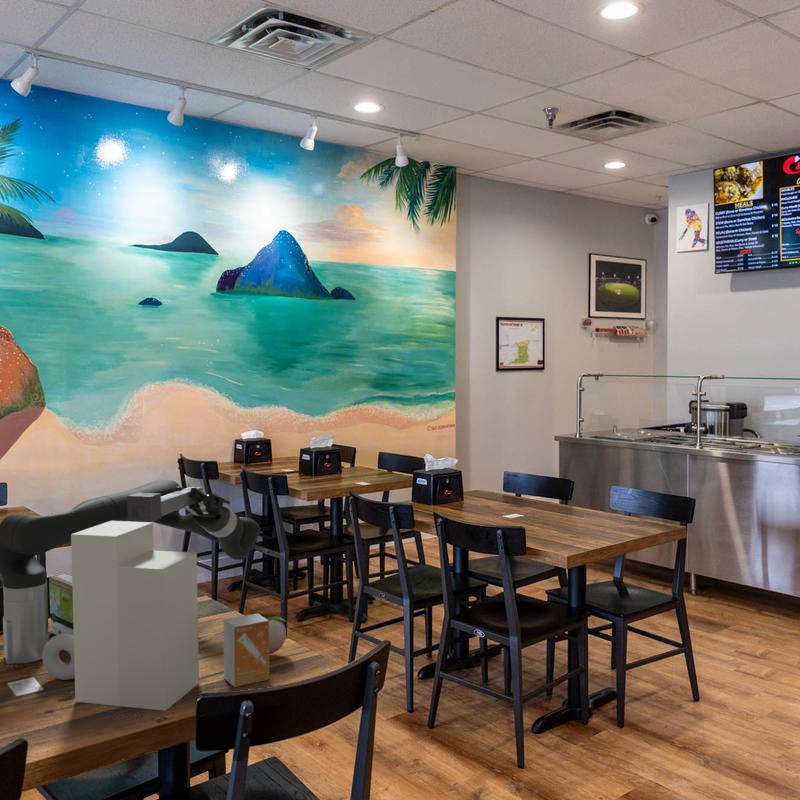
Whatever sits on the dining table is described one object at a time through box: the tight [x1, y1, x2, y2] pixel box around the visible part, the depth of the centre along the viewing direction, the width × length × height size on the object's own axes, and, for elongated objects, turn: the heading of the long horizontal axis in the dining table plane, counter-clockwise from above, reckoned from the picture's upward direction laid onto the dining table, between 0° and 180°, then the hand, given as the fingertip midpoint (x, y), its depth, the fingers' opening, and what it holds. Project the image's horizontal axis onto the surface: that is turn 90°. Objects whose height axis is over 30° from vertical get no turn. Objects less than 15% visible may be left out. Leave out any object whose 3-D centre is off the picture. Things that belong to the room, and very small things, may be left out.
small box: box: [222, 613, 270, 688], centre depth 176 cm, size 8×6×13 cm
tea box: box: [48, 571, 74, 636], centre depth 205 cm, size 15×10×15 cm, turn 49°
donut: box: [41, 633, 75, 681], centre depth 177 cm, size 10×4×10 cm, turn 82°
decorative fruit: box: [265, 613, 287, 656], centre depth 189 cm, size 9×8×10 cm
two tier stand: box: [70, 521, 200, 712], centre depth 169 cm, size 14×20×34 cm
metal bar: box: [127, 486, 204, 523], centre depth 172 cm, size 24×5×5 cm, turn 167°
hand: (184, 491), depth 178 cm, fingers closed on metal bar, 3 cm apart
